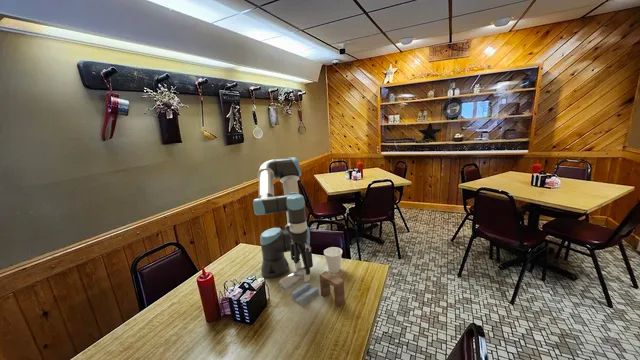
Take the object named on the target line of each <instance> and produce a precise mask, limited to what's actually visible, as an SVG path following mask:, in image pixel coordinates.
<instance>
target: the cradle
mask: <svg viewBox="0 0 640 360" xmlns="http://www.w3.org/2000/svg"><path fill="white" fill-rule="evenodd" d="M319 295H320V292H319V288H318V287H316V286H314V287H311V283H309V282H308V281H306V282H305V283H304V284H303V285H301V286H299V287H297V288H296V289H295V290H293V291H291V292H290V298H291V299H292V300H293V301H294V302H296V303H298V304H299V305H300V306H302V307H303V306H304V305H306V304H308V303H309V302H310V301H312V300H314V299H315V298H316V297H318V296H319Z"/></svg>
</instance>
